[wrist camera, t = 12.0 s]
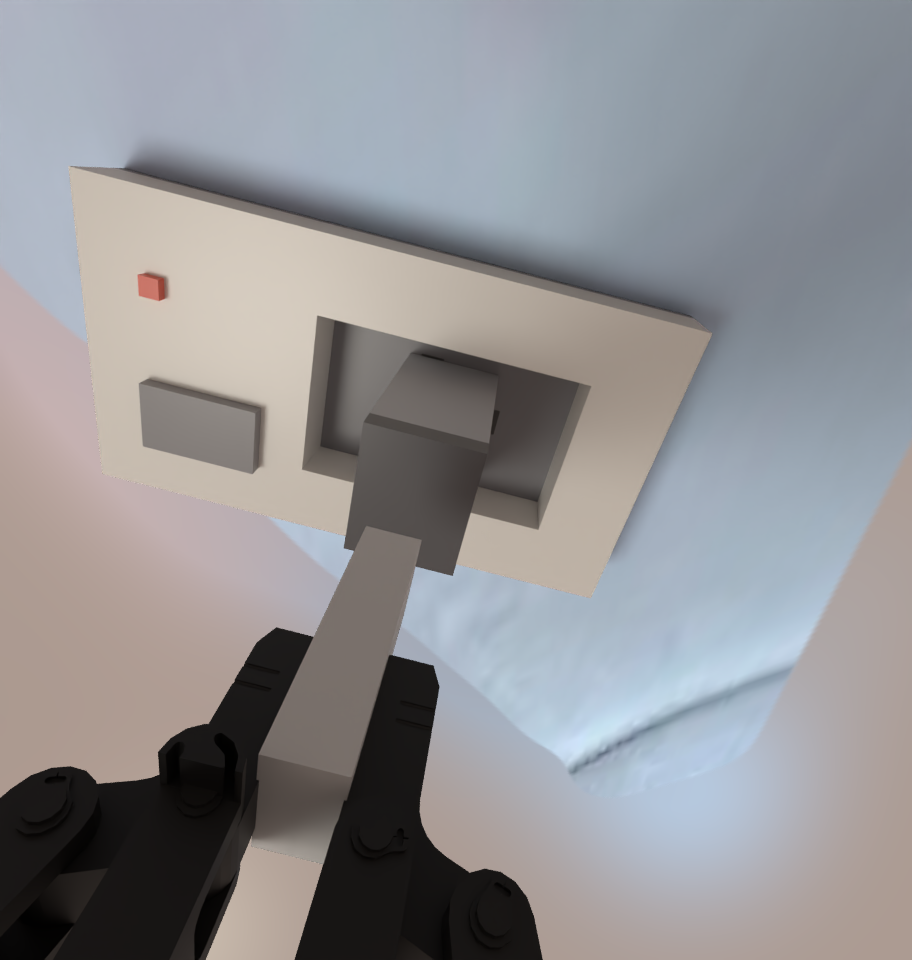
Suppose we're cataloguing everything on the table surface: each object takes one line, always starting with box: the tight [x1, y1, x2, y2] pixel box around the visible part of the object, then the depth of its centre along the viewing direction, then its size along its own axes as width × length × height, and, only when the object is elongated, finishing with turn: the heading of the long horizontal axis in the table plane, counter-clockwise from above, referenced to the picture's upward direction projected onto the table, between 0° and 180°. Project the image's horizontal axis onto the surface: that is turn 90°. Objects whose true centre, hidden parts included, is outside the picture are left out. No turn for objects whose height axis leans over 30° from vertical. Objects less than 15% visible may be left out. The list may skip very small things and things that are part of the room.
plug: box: [344, 353, 499, 576], centre depth 22 cm, size 5×4×8 cm
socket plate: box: [69, 166, 713, 598], centre depth 24 cm, size 13×24×4 cm, turn 77°
